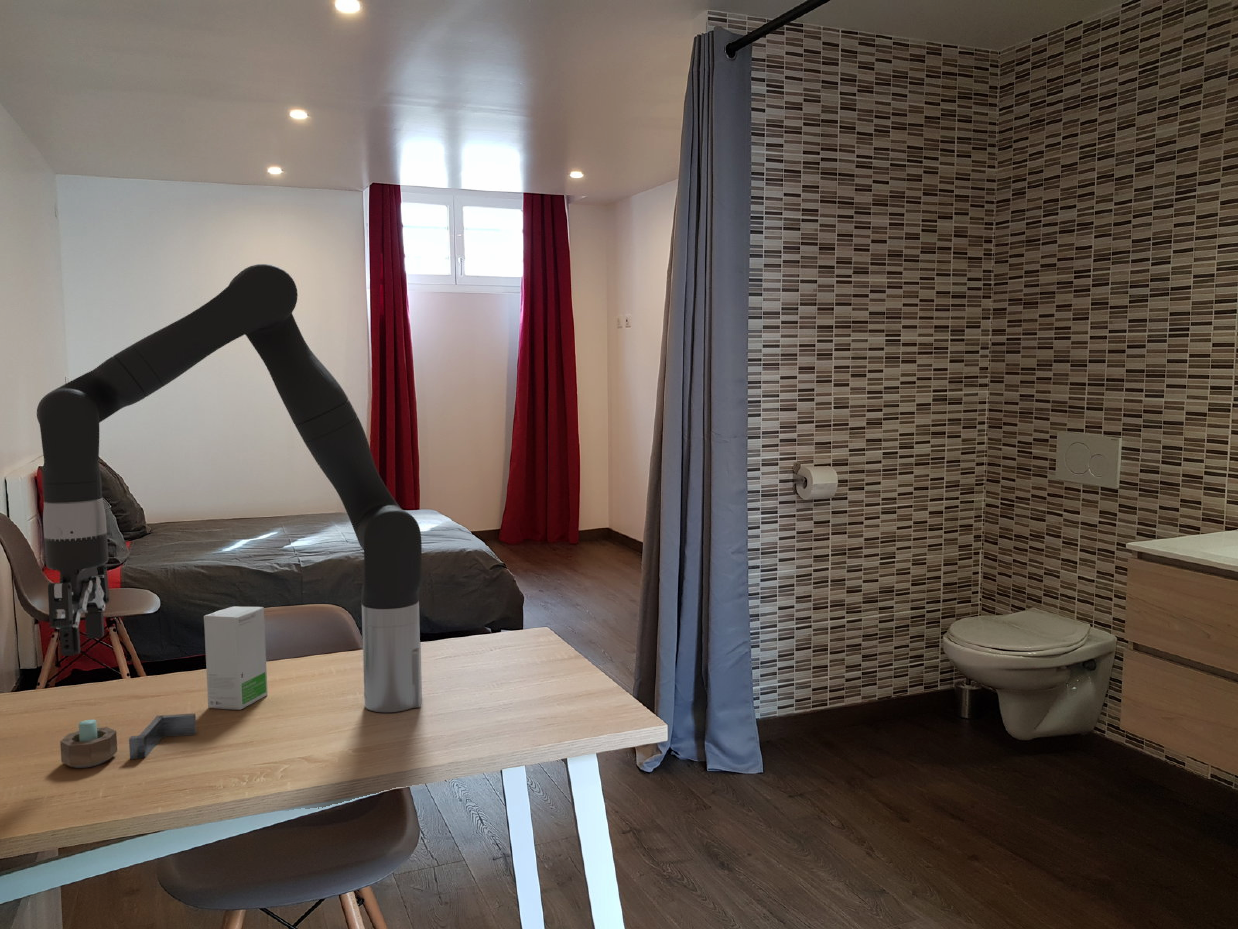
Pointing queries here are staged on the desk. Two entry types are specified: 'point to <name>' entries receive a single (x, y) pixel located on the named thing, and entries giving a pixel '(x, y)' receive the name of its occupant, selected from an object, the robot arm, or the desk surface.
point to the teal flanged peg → (88, 736)
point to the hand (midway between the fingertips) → (83, 646)
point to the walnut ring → (88, 748)
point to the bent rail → (161, 733)
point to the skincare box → (235, 657)
